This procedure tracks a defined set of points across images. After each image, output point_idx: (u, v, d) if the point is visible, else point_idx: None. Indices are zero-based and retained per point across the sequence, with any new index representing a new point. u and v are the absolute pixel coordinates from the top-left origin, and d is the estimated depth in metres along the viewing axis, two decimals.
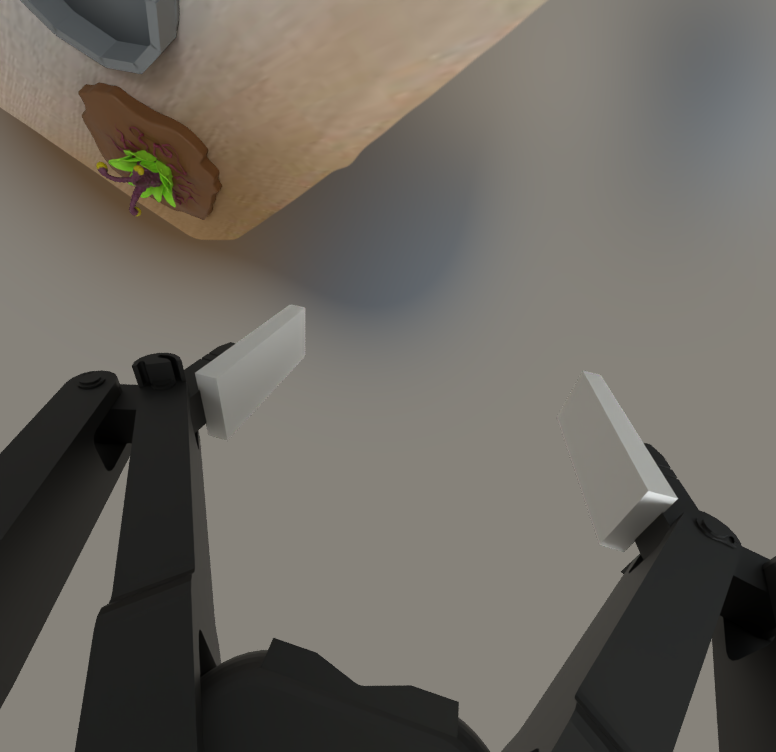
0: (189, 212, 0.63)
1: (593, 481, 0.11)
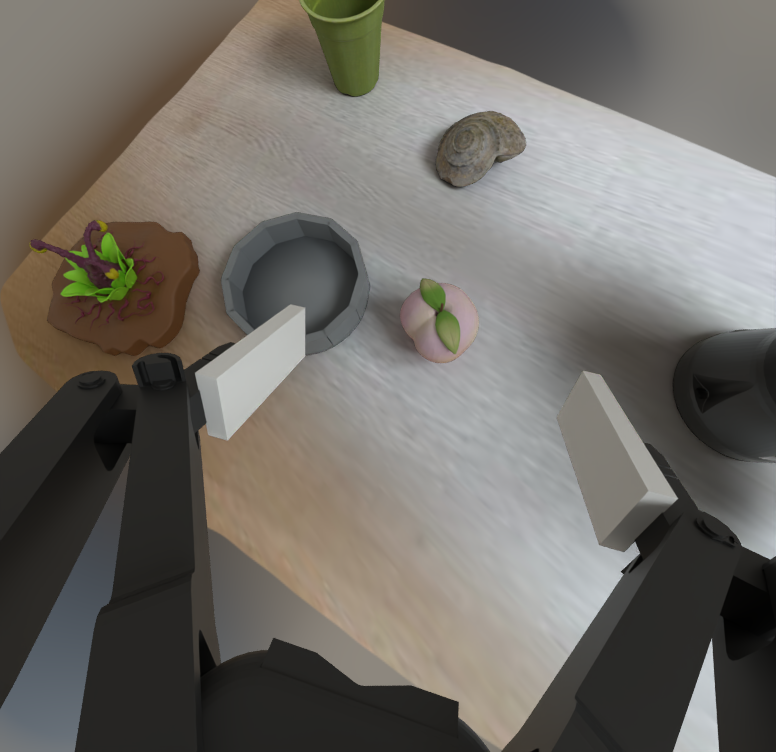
0: (54, 304, 0.45)
1: (593, 481, 0.11)
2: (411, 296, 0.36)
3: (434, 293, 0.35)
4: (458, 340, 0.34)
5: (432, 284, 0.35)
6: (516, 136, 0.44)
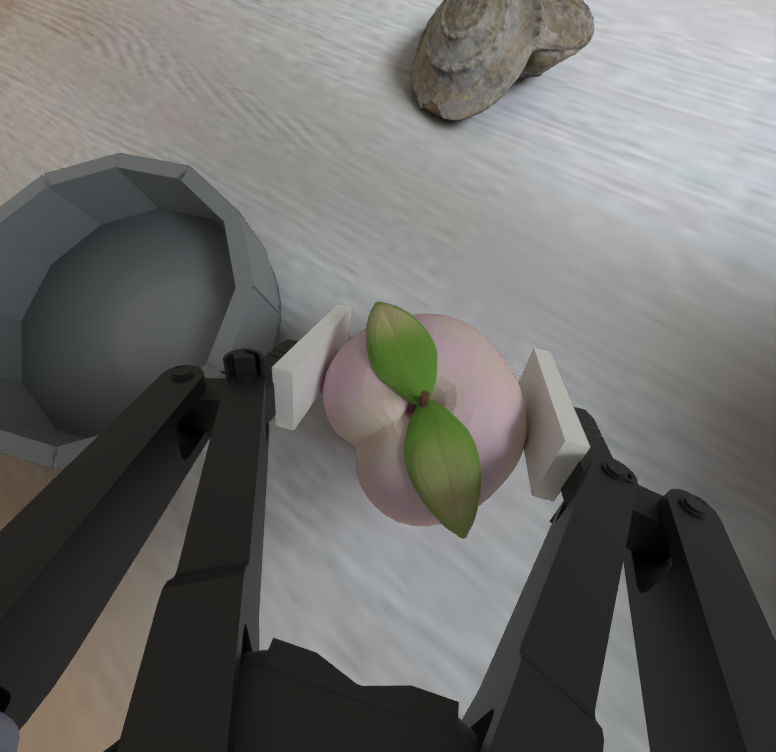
0: None
1: (533, 443, 0.13)
2: (345, 350, 0.13)
3: (404, 350, 0.12)
4: (474, 504, 0.11)
5: (400, 322, 0.12)
6: (575, 10, 0.21)
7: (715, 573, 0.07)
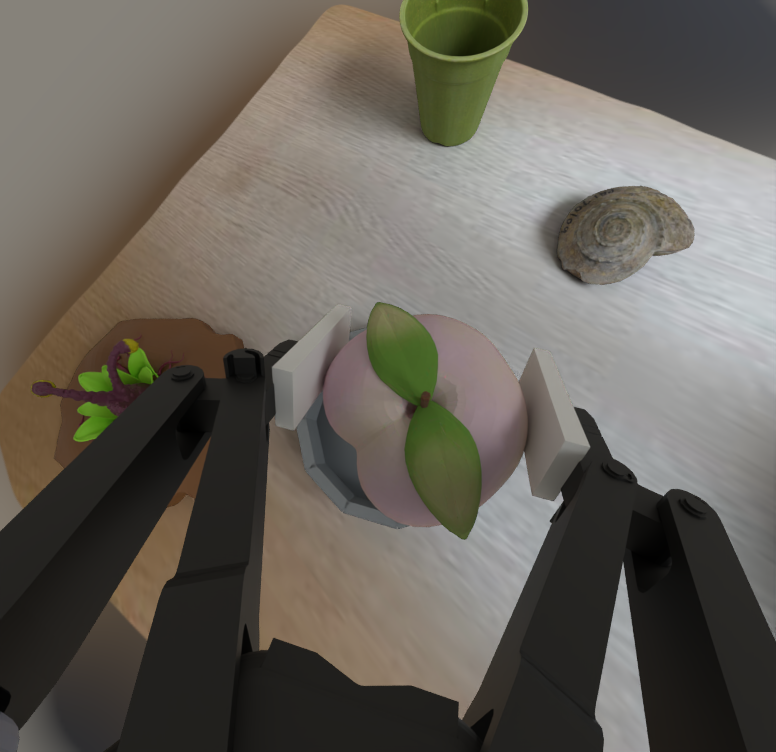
0: (64, 436, 0.33)
1: (533, 442, 0.13)
2: (346, 351, 0.13)
3: (404, 351, 0.12)
4: (475, 505, 0.11)
5: (400, 323, 0.12)
6: (683, 226, 0.32)
7: (715, 573, 0.07)
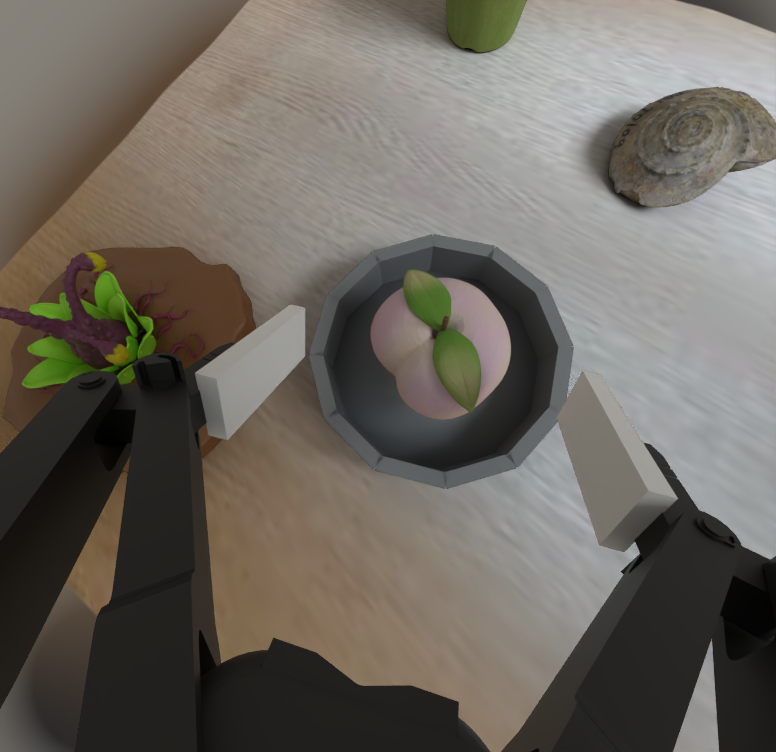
0: (15, 389, 0.27)
1: (593, 481, 0.11)
2: (388, 302, 0.20)
3: (430, 296, 0.18)
4: (477, 387, 0.17)
5: (426, 279, 0.19)
6: (771, 131, 0.26)
7: None
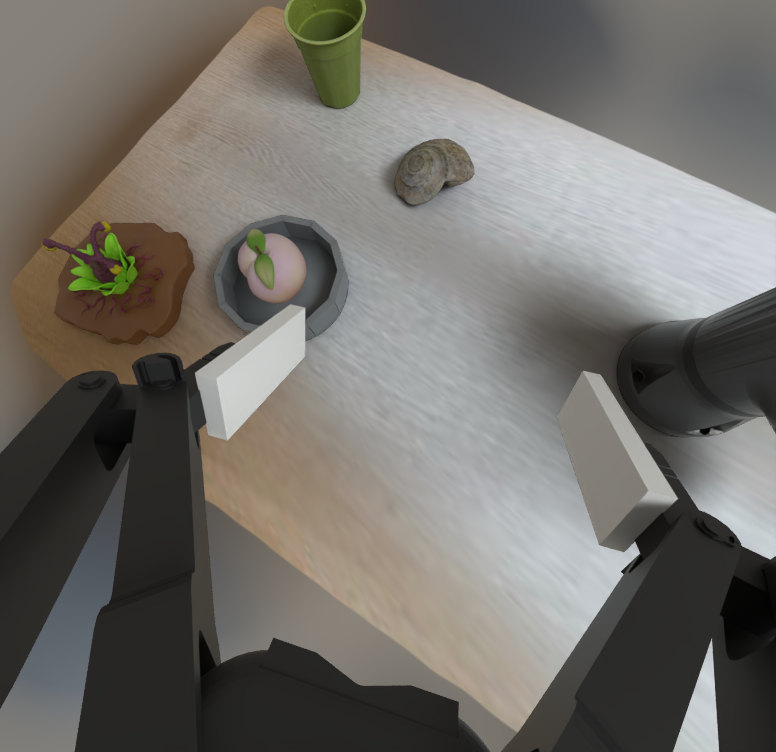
0: (61, 297, 0.49)
1: (593, 481, 0.11)
2: (243, 244, 0.43)
3: (255, 239, 0.41)
4: (272, 277, 0.40)
5: (256, 232, 0.41)
6: (465, 165, 0.48)
7: None
